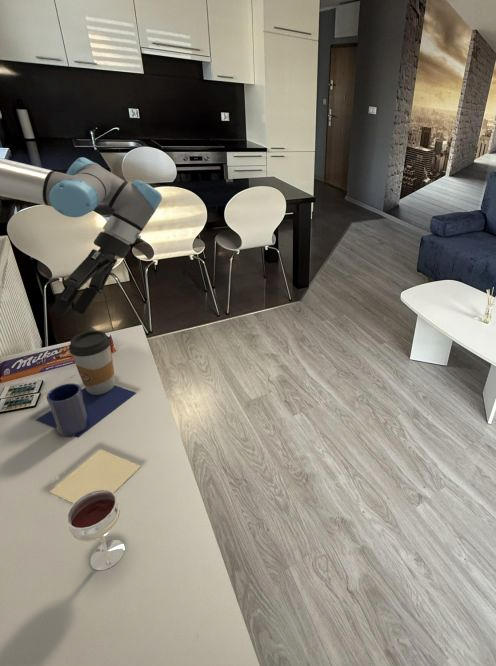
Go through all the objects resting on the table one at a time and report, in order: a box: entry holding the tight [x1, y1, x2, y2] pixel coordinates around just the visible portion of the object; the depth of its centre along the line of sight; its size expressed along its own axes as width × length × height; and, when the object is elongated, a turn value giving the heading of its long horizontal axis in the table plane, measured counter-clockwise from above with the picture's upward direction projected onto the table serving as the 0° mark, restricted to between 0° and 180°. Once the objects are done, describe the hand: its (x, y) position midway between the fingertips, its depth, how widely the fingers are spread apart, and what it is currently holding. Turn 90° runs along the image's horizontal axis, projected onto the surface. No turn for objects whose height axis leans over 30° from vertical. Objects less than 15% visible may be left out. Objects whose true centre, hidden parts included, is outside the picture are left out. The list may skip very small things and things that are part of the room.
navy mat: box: [35, 384, 137, 439], centre depth 96 cm, size 13×16×1 cm
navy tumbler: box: [46, 382, 90, 438], centre depth 88 cm, size 6×6×10 cm
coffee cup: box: [69, 330, 116, 395], centre depth 99 cm, size 8×8×15 cm
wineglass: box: [65, 489, 125, 571], centre depth 64 cm, size 7×7×12 cm
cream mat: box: [49, 449, 142, 504], centre depth 79 cm, size 11×11×1 cm
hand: (67, 312), depth 96 cm, fingers open, 13 cm apart
